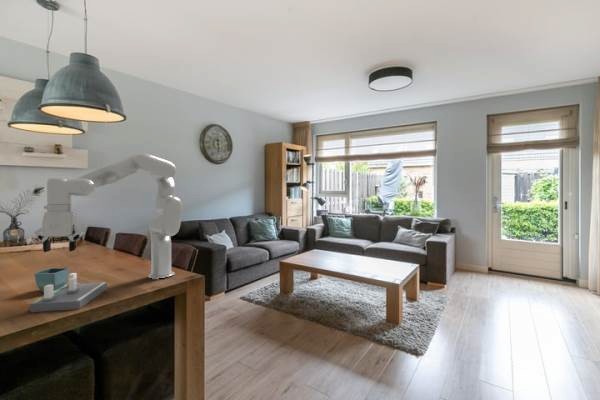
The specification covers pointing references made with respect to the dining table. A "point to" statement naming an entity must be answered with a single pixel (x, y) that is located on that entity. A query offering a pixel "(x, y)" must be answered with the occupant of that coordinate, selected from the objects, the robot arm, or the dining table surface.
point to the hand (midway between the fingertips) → (59, 250)
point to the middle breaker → (72, 285)
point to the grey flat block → (70, 298)
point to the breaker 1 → (48, 293)
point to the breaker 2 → (72, 275)
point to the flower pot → (52, 278)
